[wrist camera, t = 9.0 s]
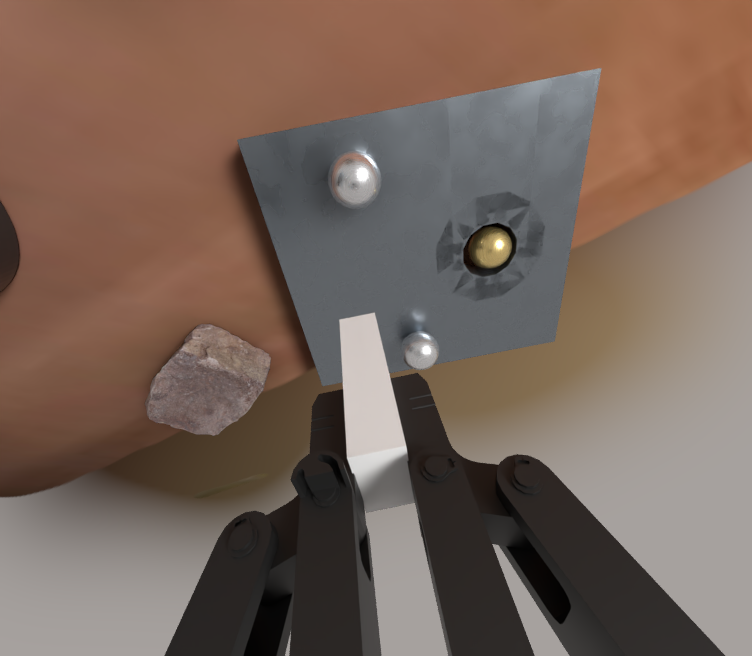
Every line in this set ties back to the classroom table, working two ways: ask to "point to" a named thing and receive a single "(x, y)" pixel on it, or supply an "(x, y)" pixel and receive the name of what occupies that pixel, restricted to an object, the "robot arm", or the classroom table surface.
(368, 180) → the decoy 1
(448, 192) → the plate
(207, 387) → the stone
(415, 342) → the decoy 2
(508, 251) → the brass ball
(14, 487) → the classroom table surface
